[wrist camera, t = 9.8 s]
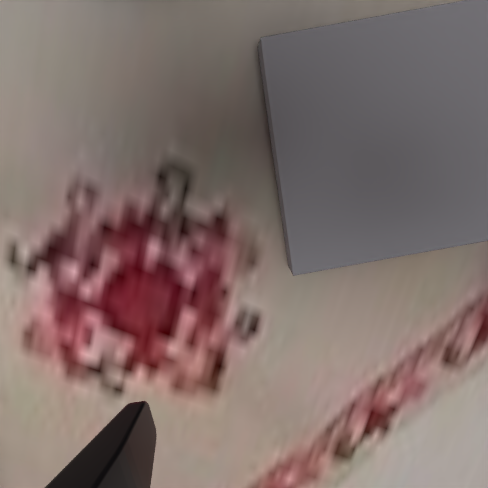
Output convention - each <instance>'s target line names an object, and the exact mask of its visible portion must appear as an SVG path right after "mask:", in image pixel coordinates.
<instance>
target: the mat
mask: <svg viewBox="0 0 488 488" xmlns="http://www.w3.org/2000/svg"><path fill="white" fill-rule="evenodd" d="M258 52H259V60H260V67H261V74H262V81H263V88H264V95H265V102H266V109H267V117H268V124H269V131H270V138H271V145H272V152H273V159H274V166H275V173H276V181H277V188H278V195H279V202H280V209H281V216H282V223H283V230H284V238H285V245H286V252H287V259H288V266H289V268H290V270H291V272H292V274H293V276H294V275H299V274H305V273H311V272H316V271H322V270H327V269H333V268H338V267H344V266H350V265H355V264H361V263H366V262H372V261H377V260H383V259H389V258H394V257H400V256H405V255H411V254H416V253H422V252H428V251H433V250H439V249H444V248H450V247H455V246H461V245H467V244H472V243H478V242H483V241H488V0H464V1H459V2H453V3H448V4H442V5H437V6H431V7H426V8H420V9H415V10H409V11H404V12H398V13H393V14H387V15H382V16H376V17H371V18H365V19H360V20H354V21H349V22H343V23H338V24H332V25H327V26H321V27H316V28H310V29H305V30H299V31H294V32H288V33H283V34H277V35H272V36H266V37H261V38H260V41H259V44H258Z"/></svg>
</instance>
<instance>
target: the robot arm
mask: <svg viewBox="0 0 488 488" xmlns="http://www.w3.org/2000/svg"><path fill="white" fill-rule="evenodd" d="M155 445H156V428H155V424H154V421H153V418H152V414H151V411H150V407H149V405H148V403H147V402H145V401H141V402H134V403H129V404H128V405H126V406H125V407H124V408H123V409H122V410H121V411H120V412H119V413H118V414H117V415H116V416H115V417H114V418H113V419H112V420H111V421H110V422H109V423H108V424H107V425H106V426H105V427H104V428H103V429H102V431H101V432H100V433H99V434H98V435H97V436H96V437H95V438H94V439H93V440H92V441H91V442H90V443H89V444H88V445H87V446H86V447H85V448H84V449H83V450H82V451H81V452H80V453H79V454H78V455H77V456H76V457H75V458H74V459H73V460H72V461H71V462H70V463H69V464H68V465H67V466H66V467H65V468H64V469H63V470H62V471H61V472H60V473H59V474H58V475H57V476H56V477H55V478H54V479H53V480H52V481H51V482H50V483H49V484H48V485H47V486H46V487H45V488H150V485H151V477H152V469H153V461H154V453H155Z"/></svg>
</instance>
